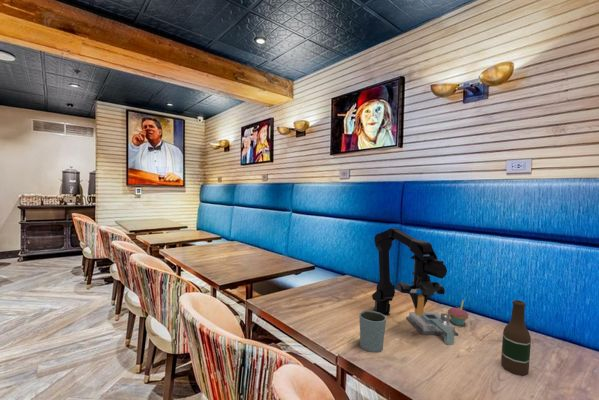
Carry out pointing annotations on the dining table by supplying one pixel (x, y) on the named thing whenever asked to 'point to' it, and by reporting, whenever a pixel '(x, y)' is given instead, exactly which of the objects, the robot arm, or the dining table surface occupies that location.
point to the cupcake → (458, 315)
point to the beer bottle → (516, 342)
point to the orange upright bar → (420, 305)
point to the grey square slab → (434, 325)
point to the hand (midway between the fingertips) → (419, 308)
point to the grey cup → (372, 331)
